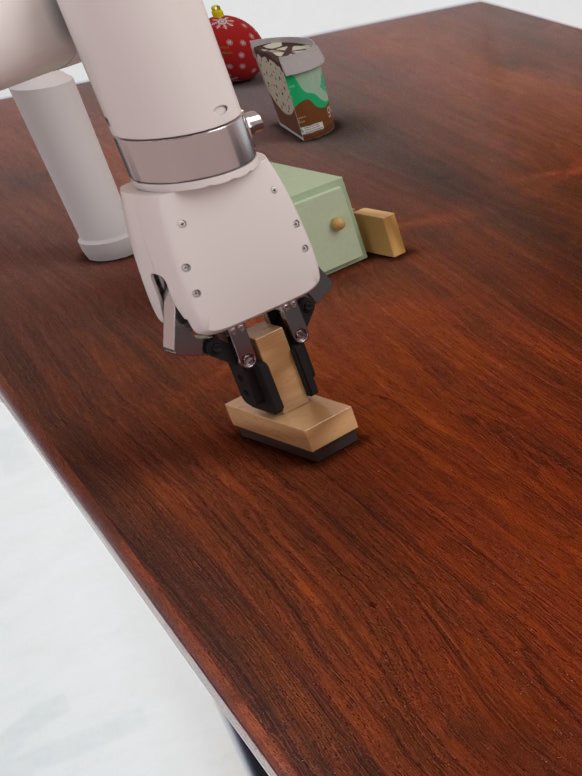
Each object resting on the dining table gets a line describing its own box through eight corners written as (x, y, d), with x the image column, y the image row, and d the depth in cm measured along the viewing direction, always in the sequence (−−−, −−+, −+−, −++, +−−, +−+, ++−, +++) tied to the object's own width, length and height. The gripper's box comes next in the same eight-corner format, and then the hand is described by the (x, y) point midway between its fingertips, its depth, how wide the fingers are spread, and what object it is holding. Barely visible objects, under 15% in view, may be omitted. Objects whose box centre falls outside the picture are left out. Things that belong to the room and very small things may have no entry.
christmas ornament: (193, 88, 176) (164, 12, 170) (235, 71, 183) (209, -3, 177) (246, 90, 174) (220, 13, 169) (287, 72, 181) (263, -2, 176)
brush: (317, 464, 92) (275, 354, 87) (237, 436, 96) (193, 329, 91) (363, 439, 95) (325, 330, 90) (284, 412, 99) (243, 307, 94)
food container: (359, 132, 157) (334, 47, 151) (308, 143, 154) (280, 58, 148) (325, 111, 165) (300, 30, 159) (275, 122, 162) (248, 39, 156)
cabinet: (249, 317, 113) (216, 231, 109) (156, 290, 119) (121, 207, 114) (378, 260, 123) (353, 178, 119) (287, 237, 129) (259, 159, 124)
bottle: (156, 243, 129) (46, -22, 114) (115, 263, 125) (-4, -9, 110) (113, 240, 130) (-1, -23, 116) (72, 260, 126) (-51, -10, 112)
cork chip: (382, 218, 121) (394, 212, 122) (352, 212, 123) (364, 207, 124) (394, 257, 124) (406, 252, 125) (364, 251, 125) (376, 246, 126)
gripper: (260, 109, 90) (342, 345, 101) (31, 182, 79) (150, 439, 89) (331, 122, 87) (408, 364, 98) (103, 199, 76) (217, 464, 86)
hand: (284, 398), depth 93 cm, fingers closed on brush, 2 cm apart
